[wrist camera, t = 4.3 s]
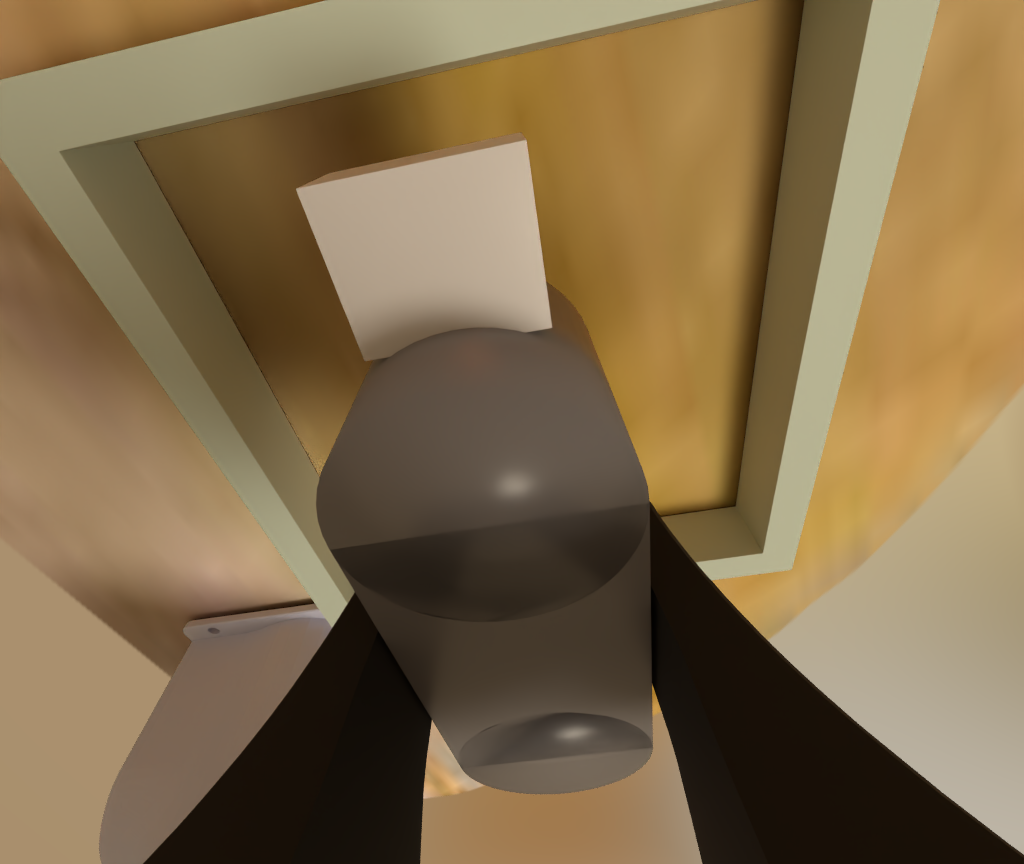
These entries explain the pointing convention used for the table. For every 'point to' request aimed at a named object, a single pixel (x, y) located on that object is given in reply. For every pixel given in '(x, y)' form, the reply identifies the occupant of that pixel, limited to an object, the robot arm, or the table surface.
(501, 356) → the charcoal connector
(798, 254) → the sage frame
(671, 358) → the table surface
